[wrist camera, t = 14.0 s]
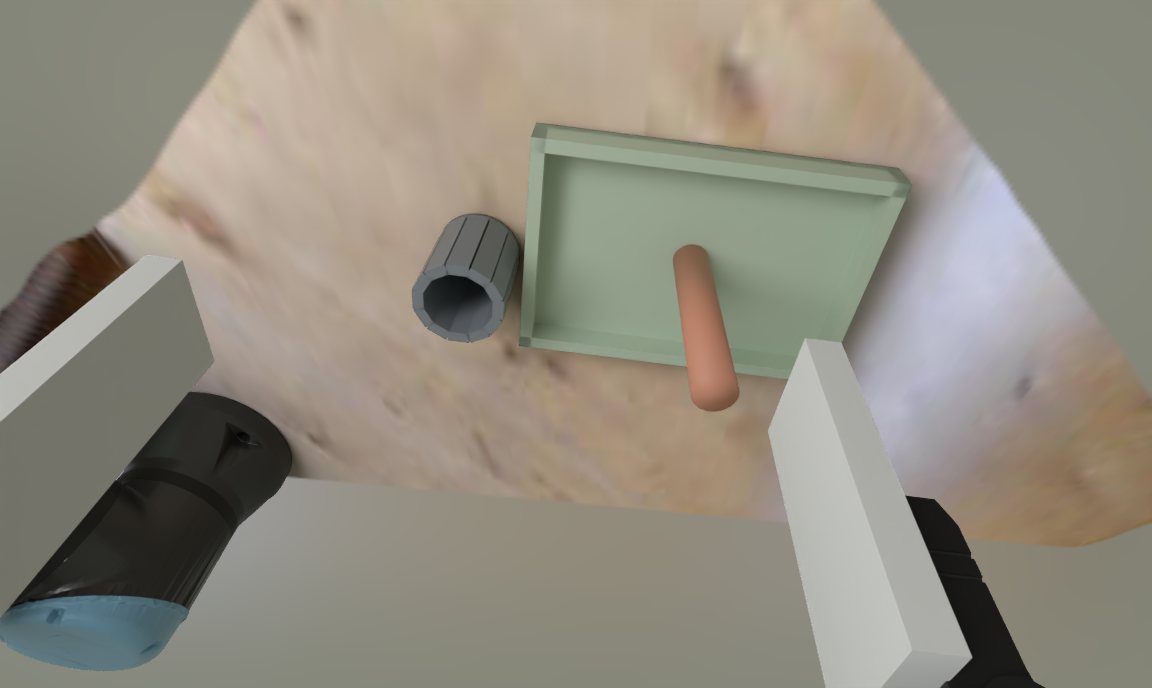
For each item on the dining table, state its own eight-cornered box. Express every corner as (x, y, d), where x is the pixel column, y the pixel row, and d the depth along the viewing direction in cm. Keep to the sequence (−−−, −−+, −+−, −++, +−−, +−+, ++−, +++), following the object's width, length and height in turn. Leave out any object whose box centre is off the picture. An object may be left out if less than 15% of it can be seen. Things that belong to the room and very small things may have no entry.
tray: (524, 325, 57) (519, 345, 54) (536, 122, 46) (530, 136, 43) (815, 362, 57) (823, 383, 54) (898, 168, 46) (912, 184, 43)
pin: (670, 269, 52) (632, 394, 39) (677, 238, 50) (640, 358, 37) (745, 287, 51) (731, 420, 38) (755, 256, 49) (744, 384, 36)
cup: (440, 279, 55) (414, 336, 48) (438, 208, 50) (409, 259, 44) (517, 289, 55) (502, 346, 48) (521, 219, 50) (504, 271, 44)
